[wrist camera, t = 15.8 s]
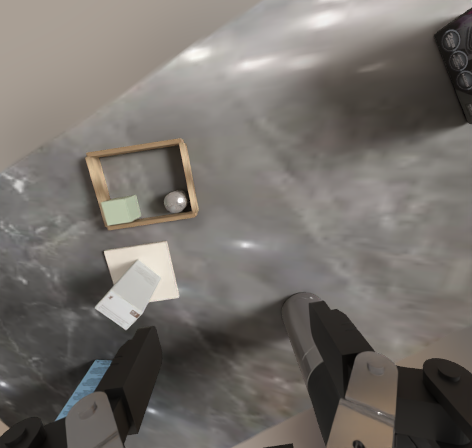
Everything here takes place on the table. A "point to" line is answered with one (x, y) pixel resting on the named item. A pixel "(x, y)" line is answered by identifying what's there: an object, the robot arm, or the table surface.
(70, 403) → the gum box
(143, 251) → the ceramic pad
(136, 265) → the skincare box
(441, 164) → the table surface
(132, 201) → the sage block
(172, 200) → the grey ball
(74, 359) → the table surface
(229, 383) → the table surface
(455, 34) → the graphics card box
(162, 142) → the oak corral
